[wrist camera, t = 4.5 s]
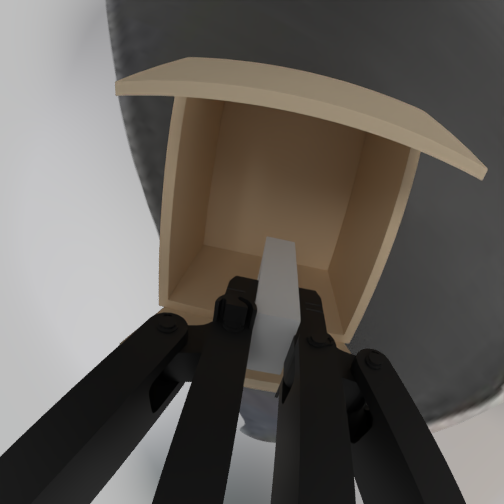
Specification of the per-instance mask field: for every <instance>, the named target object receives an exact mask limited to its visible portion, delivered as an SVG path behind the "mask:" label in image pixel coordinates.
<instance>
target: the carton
mask: <svg viewBox="0 0 504 504" xmlns="http://www.w3.org/2000/svg"><path fill="white" fill-rule="evenodd" d="M420 152H421V151H419V150H416V149H414V148H411V147H409V146H406V145H403V144H401V143H398V142H395V141H393V140H390V139H387V138H384V137H381V136H378V135H375V134H372V133H369V132H366V131H363V130H360V129H357V128H353V127H350V126H347V125H343V124H340V123H336V122H332V121H329V120H325V119H321V118H317V117H313V116H309V115H304V114H300V113H295V112H291V111H286V110H281V109H276V108H270V107H265V106H259V105H253V104H246V103H239V102H232V101H224V100H215V99H205V98H193V97H179V96H175V99H174V105H173V111H172V117H171V124H170V131H169V138H168V146H167V155H166V163H165V173H164V184H163V195H162V209H161V226H160V248H159V305H160V306H163V307H167V308H171V309H175V310H178V311H182V312H186V313H190V314H194V315H199V316H203V317H207V318H211V319H213V315H214V307H215V301H216V300H217V298H218V297H220V296H222V295H224V294H225V292H226V289H227V286H228V283H229V281H230V280H231V279H232V278H234V277H235V276H241V277H246V278H251V279H255V280H257V279H258V274H259V270H260V265H261V260H262V256H263V251H264V246H265V242H266V237H267V236H268V237H273V238H277V239H282V240H287V241H292V242H295V250H296V262H297V275H298V287H299V288H304V289H310V290H315V291H316V292H317V293H318V295H319V296H320V297H321V300H322V307H323V313H324V317H325V323H326V329H327V333H328V334H330V335H331V336H332V337H333V338H334V340H335V342H341V343H350V341H351V339H352V337H353V335H354V333H355V331H356V329H357V327H358V325H359V323H360V321H361V319H362V317H363V315H364V312H365V310H366V308H367V306H368V304H369V301H370V299H371V297H372V295H373V292H374V290H375V288H376V285H377V283H378V281H379V278H380V276H381V273H382V271H383V269H384V266H385V264H386V261H387V258H388V256H389V253H390V251H391V248H392V245H393V242H394V240H395V237H396V234H397V231H398V228H399V225H400V222H401V219H402V216H403V213H404V210H405V207H406V204H407V200H408V197H409V194H410V190H411V187H412V183H413V180H414V176H415V172H416V168H417V164H418V160H419V156H420Z"/></svg>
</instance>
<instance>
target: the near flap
mask: <svg viewBox="0 0 504 504" xmlns="http://www.w3.org/2000/svg"><path fill="white" fill-rule="evenodd" d="M115 90H116V96H122V95H154V96H179V97H193V98H205V99H215V100H224V101H232V102H239V103H246V104H253V105H259V106H265V107H270V108H276V109H281V110H286V111H291V112H295V113H300V114H304V115H309V116H313V117H317V118H321V119H325V120H329V121H332V122H336V123H340V124H343V125H347V126H350V127H353V128H357V129H360V130H363V131H366V132H369V133H372V134H375V135H378V136H381V137H384V138H387V139H390V140H393V141H395V142H398V143H401V144H403V145H406V146H409V147H411V148H414V149H416V150H419V151H421V152H423V153H426V154H428V155H430V156H433V157H435V158H437V159H439V160H442V161H444V162H446V163H448V164H450V165H452V166H455V167H457V168H459V169H461V170H463V171H465V172H467V173H469V174H471V175H472V176H474V177H476V178H478V179H480V180H483V178H484V176H485V174H486V172H487V170H488V169H487V168H486V167H485V165H484V164H483V163H482V162H481V161H480V160H479V159H478V158H477V157H476V156H475V155H474V154H473V153H472V152H471V151H470V150H469V149H468V148H467V147H465V146H464V145H463V144H462V143H461V142H460V141H459V140H458V139H457V138H456V137H455V136H453V135H452V134H451V133H450V132H449V131H448V130H447V129H445V128H444V127H443V126H442V125H441V124H440V123H438V122H437V121H436V120H435V119H433V118H432V117H431V116H430V115H428V114H427V113H426V112H424V111H423V110H421V109H418V108H416V107H414V106H412V105H409V104H407V103H404V102H402V101H400V100H397V99H395V98H392V97H389V96H387V95H384V94H381V93H379V92H376V91H373V90H370V89H367V88H364V87H361V86H358V85H355V84H351V83H348V82H345V81H341V80H338V79H334V78H330V77H327V76H323V75H319V74H315V73H310V72H306V71H301V70H297V69H292V68H286V67H281V66H275V65H269V64H263V63H256V62H248V61H240V60H230V59H218V58H201V57H187V58H183V59H180V60H176V61H173V62H169V63H166V64H163V65H160V66H156V67H153V68H150V69H147V70H145V71H142V72H139V73H136V74H133V75H131V76H128V77H126V78H123V79H121V80H118V81H116V82H115Z"/></svg>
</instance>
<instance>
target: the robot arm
mask: <svg viewBox="0 0 504 504" xmlns="http://www.w3.org/2000/svg"><path fill="white" fill-rule="evenodd" d="M283 367H284V369H283ZM246 369H250V370H255V371H261V372H266V373H272V374H278V375H280V374H281V372H282V369H283V378H282V380H281V383H280V385H279V387H278V390H277V392H276V395H275V397H277V398H278V396H279V405H278V421H277V435H276V450H275V462H274V473H273V484H272V495H271V504H356V501H355V486H354V477H355V480H356V483H357V486H358V489H359V491H360V494H361V497H362V500H363V503H364V504H466V503H465V500H464V498H463V496H462V494H461V491H460V490H459V487H458V485H457V483H456V481H455V479H454V477H453V475H452V473H451V470H450V469H449V467H448V465H447V462H446V461H445V458H444V456H443V455H442V453H441V451H440V449H439V447H438V445H437V443H436V441H435V439H434V437H433V436H432V434H431V432H430V430H429V428H428V426H427V424H426V423H425V421H424V419H423V417H422V415H421V414H420V412H419V410H418V408H417V407H416V405H415V403H414V401H413V400H412V398H411V396H410V395H409V393H408V391H407V389H406V388H405V386H404V384H403V383H402V381H401V379H400V378H399V376H398V374H397V373H396V371H395V369H394V368H393V366H392V365H391V363H390V361H389V360H388V359H387V357H386V356H385V355H384V354H382V353H381V352H379V351H376V350H374V349H363V350H361V351H360V352H359V353H358V354H357V355H356V356H355V355H352V354H350V353H347V352H344V351H342V350H340V349H338V348H337V347H336V343H335V340H334V338H333V337H332V336H331V335H330V334H328V333H327V329H326V323H325V317H324V313H323V307H322V300H321V297H320V296H319V295H318V293H317V292H316V291H315V290H310V289H304V288H299V287H298V275H297V262H296V250H295V242H292V241H287V240H282V239H277V238H273V237H268V236H267V237H266V242H265V246H264V251H263V256H262V260H261V265H260V270H259V274H258V279H257V280H255V279H251V278H246V277H241V276H235V277H234V278H232V279H231V280H230V281H229V283H228V286H227V289H226V292H225V294H224V295H222V296H220V297H218V298H217V300H216V301H215V307H214V315H213V321H212V322H210V323H208V324H204V325H188V323H187V322H186V320H185V319H184V318H183V317H181V316H179V315H177V314H174V313H166V312H163V313H159V314H156V315H154V316H152V317H151V318H149V319H148V320H147V321H146V322H145V323H144V324H143V325H142V326H140V327H139V328H138V329H137V330H136V331H135V332H134V333H133V334H131V335H130V336H129V337H128V338H127V339H126V340H125V341H124V342H123V343H121V344H120V345H119V346H118V347H117V348H116V349H115V350H114V351H113V352H111V353H110V354H109V355H108V356H107V357H106V358H105V359H104V360H103V361H101V362H100V363H99V364H98V365H97V366H96V367H95V368H94V369H93V370H92V371H91V372H89V373H88V374H87V375H86V376H85V377H84V378H83V379H82V380H81V381H80V382H78V383H77V384H76V385H75V386H74V387H73V388H72V389H71V390H70V391H69V392H68V393H67V394H66V395H64V396H63V397H62V398H61V399H60V400H59V401H58V402H57V403H56V404H55V405H54V406H53V407H52V408H51V409H50V410H49V411H47V412H46V413H45V414H44V415H43V416H42V417H41V418H40V419H39V420H38V421H37V422H36V423H35V424H34V425H33V426H32V427H30V428H29V429H28V430H27V431H26V432H25V433H24V434H23V435H22V436H21V437H20V438H19V439H18V440H17V441H16V442H15V443H14V444H13V445H12V446H11V447H10V448H9V449H8V450H7V451H6V452H5V453H4V454H3V455H2V456H1V457H0V504H90V503H91V502H92V501H93V499H94V498H95V497H96V496H97V495H98V493H99V492H100V491H101V490H102V488H103V487H104V486H105V485H106V484H107V482H108V481H109V480H110V479H111V477H112V476H113V475H114V474H115V473H116V471H117V470H118V469H119V468H120V466H121V465H122V464H123V463H124V461H125V460H126V459H127V457H128V456H129V455H130V454H131V452H132V451H133V450H134V449H135V447H136V446H137V445H138V443H139V442H140V441H141V440H142V438H143V437H144V436H145V435H146V433H147V432H148V431H149V429H150V428H151V427H152V426H153V424H154V423H155V422H156V420H157V419H158V418H159V417H160V415H161V414H162V412H163V411H164V410H165V408H166V407H167V406H168V405H169V403H170V402H171V401H172V399H173V398H174V397H175V395H176V394H177V393H178V392H179V390H180V389H181V387H182V386H183V385H184V383H185V382H192V383H191V386H190V389H189V392H188V395H187V398H186V401H185V404H184V407H183V410H182V413H181V416H180V419H179V422H178V425H177V428H176V431H175V434H174V437H173V440H172V443H171V446H170V449H169V452H168V455H167V458H166V461H165V464H164V467H163V470H162V474H161V477H160V480H159V483H158V486H157V489H156V492H155V496H154V499H153V502H152V504H223V500H224V495H225V490H226V484H227V479H228V473H229V468H230V462H231V456H232V451H233V445H234V439H235V433H236V428H237V422H238V416H239V410H240V404H241V398H242V392H243V386H244V380H245V374H246ZM366 403H367V404H366ZM367 405H368V406H367Z"/></svg>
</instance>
